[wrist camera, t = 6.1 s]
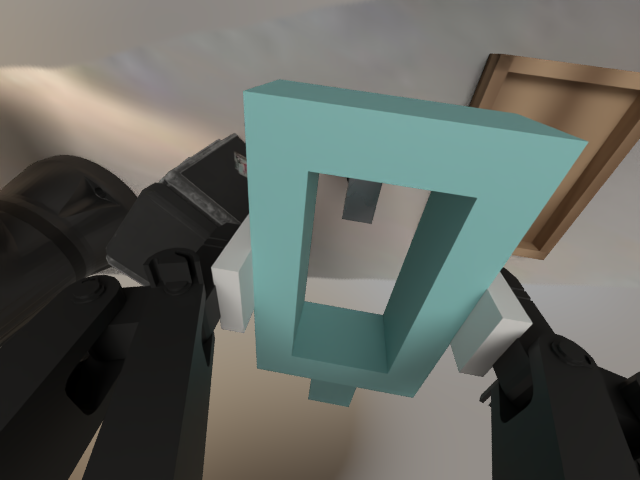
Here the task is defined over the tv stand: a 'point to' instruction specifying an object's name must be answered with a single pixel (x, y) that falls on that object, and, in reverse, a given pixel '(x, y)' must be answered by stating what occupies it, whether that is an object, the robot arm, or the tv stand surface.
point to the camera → (183, 207)
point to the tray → (566, 128)
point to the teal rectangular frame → (430, 237)
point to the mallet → (361, 200)
